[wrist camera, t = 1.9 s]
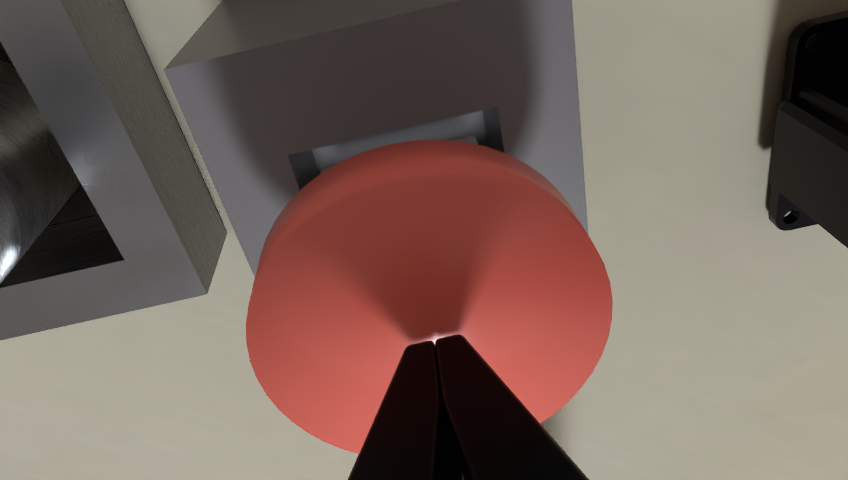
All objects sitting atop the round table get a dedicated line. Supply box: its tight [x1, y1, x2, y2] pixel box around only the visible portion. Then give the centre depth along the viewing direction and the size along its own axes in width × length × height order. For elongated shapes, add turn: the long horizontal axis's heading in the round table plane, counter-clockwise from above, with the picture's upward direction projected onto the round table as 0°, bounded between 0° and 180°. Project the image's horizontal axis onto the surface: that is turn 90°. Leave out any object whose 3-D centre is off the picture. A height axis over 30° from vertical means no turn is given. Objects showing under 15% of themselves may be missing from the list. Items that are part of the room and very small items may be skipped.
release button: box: [246, 134, 612, 454], centre depth 11 cm, size 6×6×4 cm
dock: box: [164, 0, 588, 276], centre depth 15 cm, size 7×8×6 cm
